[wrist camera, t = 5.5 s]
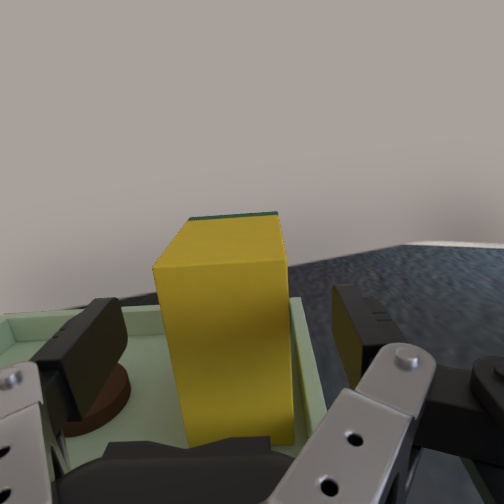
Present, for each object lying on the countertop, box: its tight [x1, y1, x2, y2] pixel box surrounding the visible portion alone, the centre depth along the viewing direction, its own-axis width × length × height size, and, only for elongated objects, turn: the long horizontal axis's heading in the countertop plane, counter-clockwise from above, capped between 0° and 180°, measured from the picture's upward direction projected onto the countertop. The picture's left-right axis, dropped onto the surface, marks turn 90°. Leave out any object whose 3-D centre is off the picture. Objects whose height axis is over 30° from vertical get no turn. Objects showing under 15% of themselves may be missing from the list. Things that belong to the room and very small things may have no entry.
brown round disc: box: [62, 363, 131, 438], centre depth 18 cm, size 4×4×1 cm
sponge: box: [152, 212, 295, 448], centre depth 16 cm, size 5×7×9 cm
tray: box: [0, 297, 327, 470], centre depth 18 cm, size 22×14×3 cm, turn 89°
